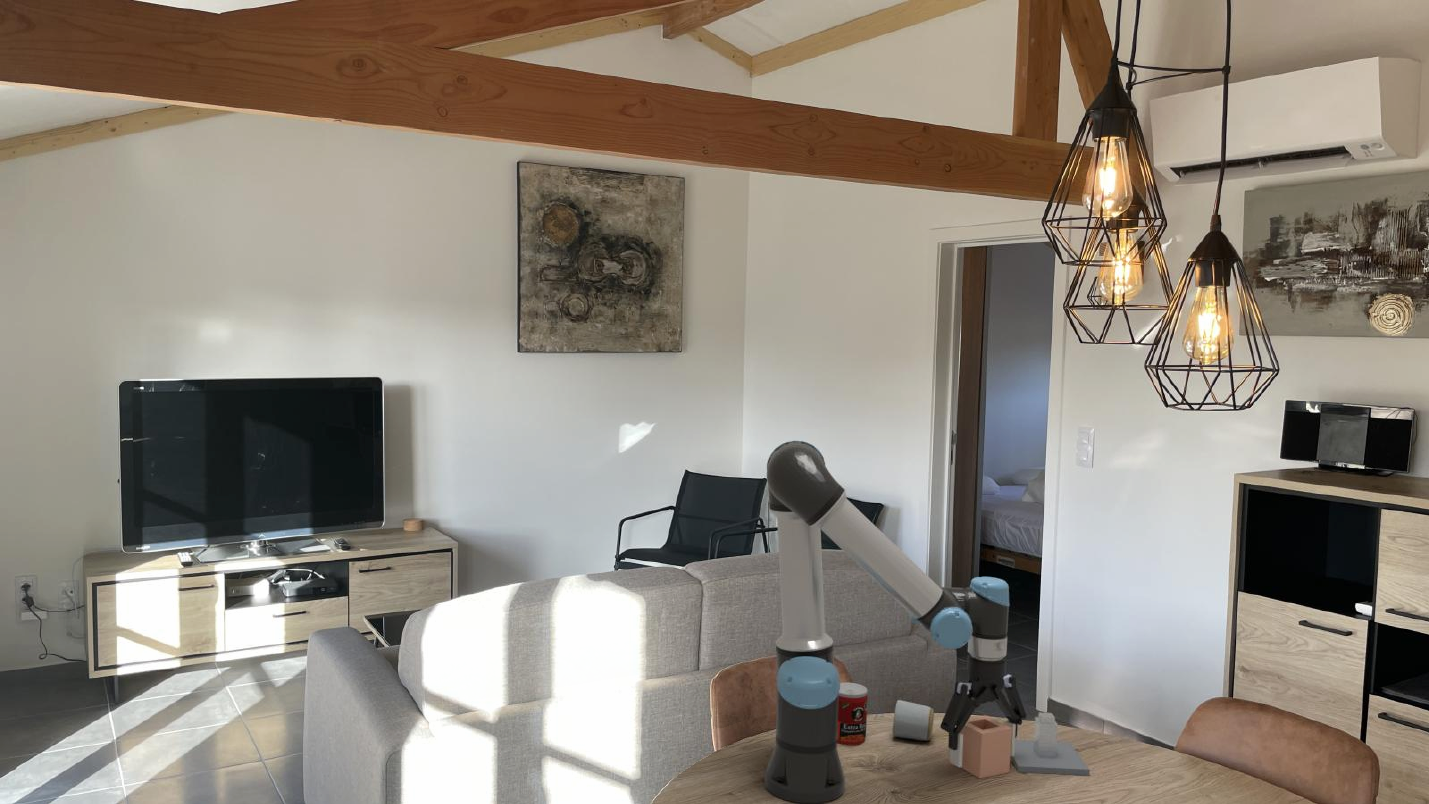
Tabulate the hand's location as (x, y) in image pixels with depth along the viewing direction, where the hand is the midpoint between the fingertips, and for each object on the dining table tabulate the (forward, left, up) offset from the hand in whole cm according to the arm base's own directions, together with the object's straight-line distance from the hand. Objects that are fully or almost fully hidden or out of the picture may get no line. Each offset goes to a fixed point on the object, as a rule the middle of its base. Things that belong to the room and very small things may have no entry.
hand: (982, 759), depth 208 cm
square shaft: (+14, +6, -1) cm, 15 cm away
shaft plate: (+14, +6, -2) cm, 15 cm away
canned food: (-26, +12, -2) cm, 29 cm away
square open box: (0, 0, -2) cm, 2 cm away
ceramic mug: (-12, +16, -2) cm, 20 cm away
